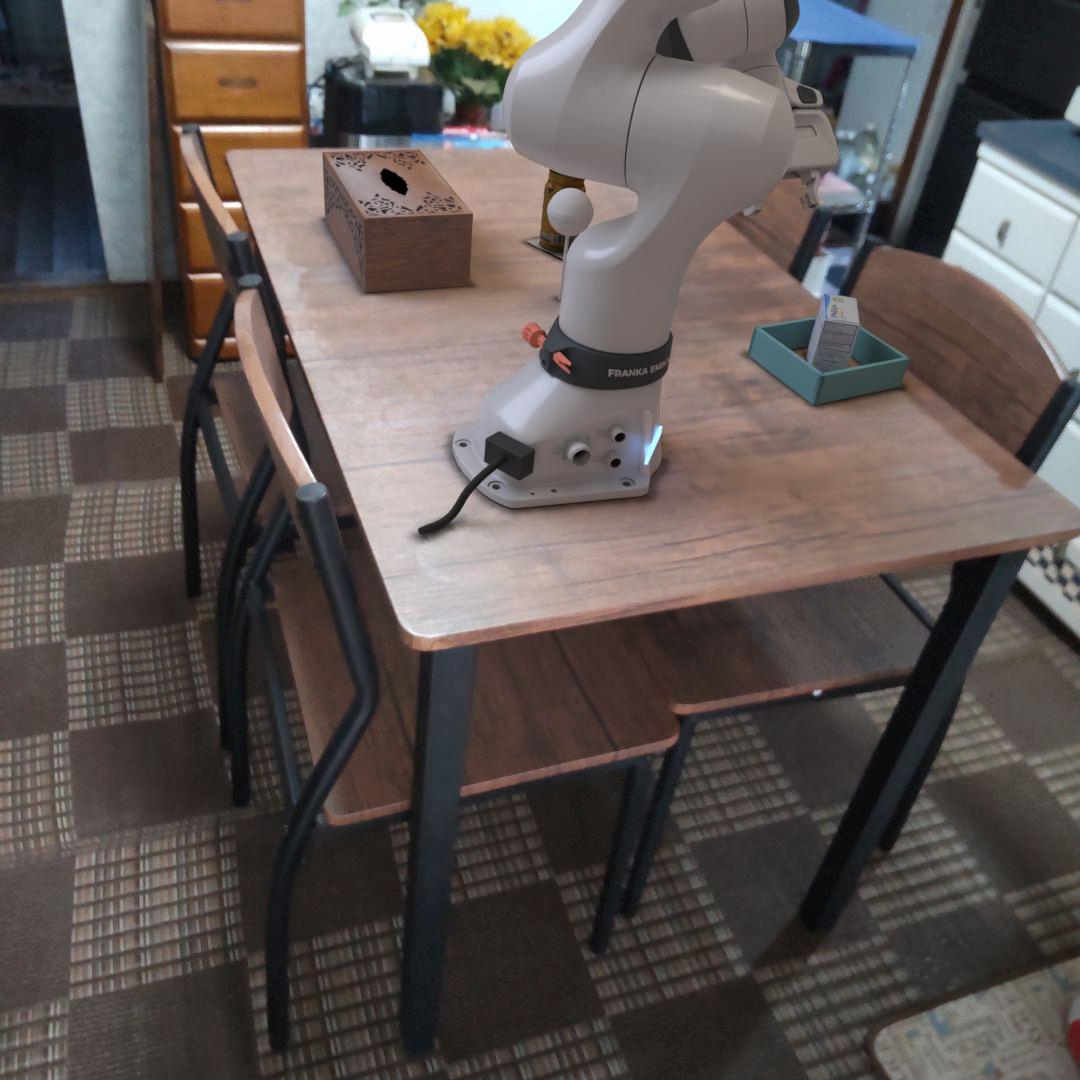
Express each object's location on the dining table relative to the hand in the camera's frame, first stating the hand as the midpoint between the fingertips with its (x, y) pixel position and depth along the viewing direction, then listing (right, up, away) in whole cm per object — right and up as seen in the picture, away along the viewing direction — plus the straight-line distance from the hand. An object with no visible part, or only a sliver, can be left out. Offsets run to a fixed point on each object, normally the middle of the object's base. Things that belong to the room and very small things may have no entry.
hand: (783, 211), depth 126 cm
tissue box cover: (-52, 0, +17) cm, 55 cm away
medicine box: (+5, -20, 0) cm, 21 cm away
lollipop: (-28, -9, +10) cm, 31 cm away
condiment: (-28, +2, +24) cm, 37 cm away
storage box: (+5, -20, 0) cm, 21 cm away
